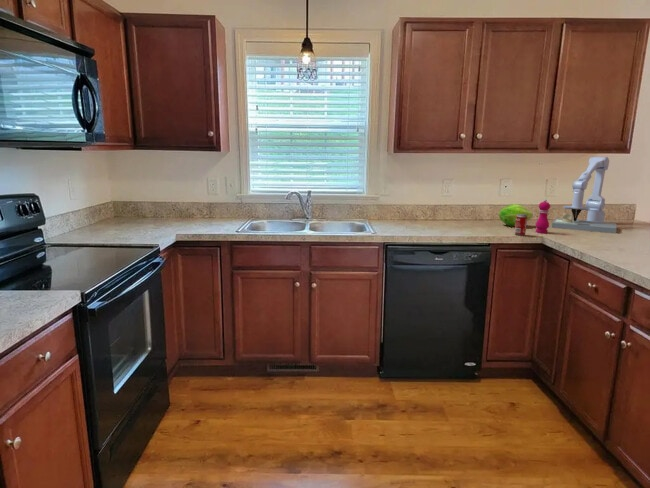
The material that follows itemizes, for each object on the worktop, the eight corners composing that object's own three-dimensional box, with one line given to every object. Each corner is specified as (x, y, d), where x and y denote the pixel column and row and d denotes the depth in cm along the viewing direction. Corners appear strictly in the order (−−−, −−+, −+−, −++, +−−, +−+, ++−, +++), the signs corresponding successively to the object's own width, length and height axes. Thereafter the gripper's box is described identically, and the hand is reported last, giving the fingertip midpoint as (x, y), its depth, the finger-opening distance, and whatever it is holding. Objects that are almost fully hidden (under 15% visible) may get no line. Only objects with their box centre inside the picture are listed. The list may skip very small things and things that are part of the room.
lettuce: (534, 229, 267) (533, 208, 262) (500, 231, 275) (498, 212, 270) (532, 219, 280) (531, 200, 274) (499, 222, 287) (497, 203, 282)
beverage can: (518, 233, 252) (520, 213, 249) (527, 235, 247) (529, 214, 244) (512, 234, 249) (514, 214, 246) (520, 236, 244) (522, 215, 241)
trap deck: (615, 227, 271) (616, 223, 270) (615, 233, 253) (616, 228, 252) (555, 222, 289) (556, 218, 288) (551, 227, 271) (552, 222, 271)
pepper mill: (537, 233, 252) (540, 199, 248) (533, 231, 259) (536, 198, 255) (550, 233, 251) (554, 200, 247) (545, 231, 258) (549, 198, 254)
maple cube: (571, 221, 276) (572, 213, 275) (571, 222, 272) (572, 214, 270) (563, 220, 278) (563, 213, 277) (562, 221, 274) (563, 214, 273)
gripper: (564, 199, 271) (561, 220, 274) (590, 201, 263) (587, 222, 266) (565, 198, 276) (562, 219, 279) (591, 200, 268) (588, 221, 271)
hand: (575, 220), depth 273 cm, fingers closed
